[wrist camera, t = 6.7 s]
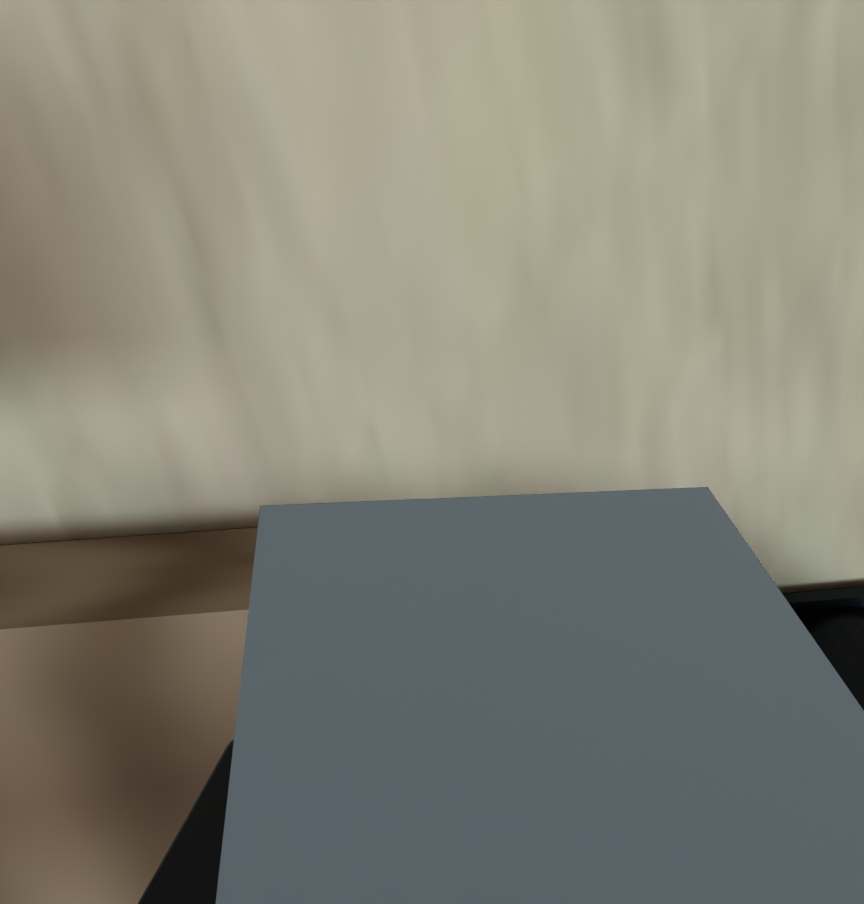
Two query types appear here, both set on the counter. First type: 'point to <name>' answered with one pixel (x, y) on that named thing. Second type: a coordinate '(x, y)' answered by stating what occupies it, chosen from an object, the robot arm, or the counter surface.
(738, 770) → the slate block
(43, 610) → the walnut stand
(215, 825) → the robot arm
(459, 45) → the counter surface
